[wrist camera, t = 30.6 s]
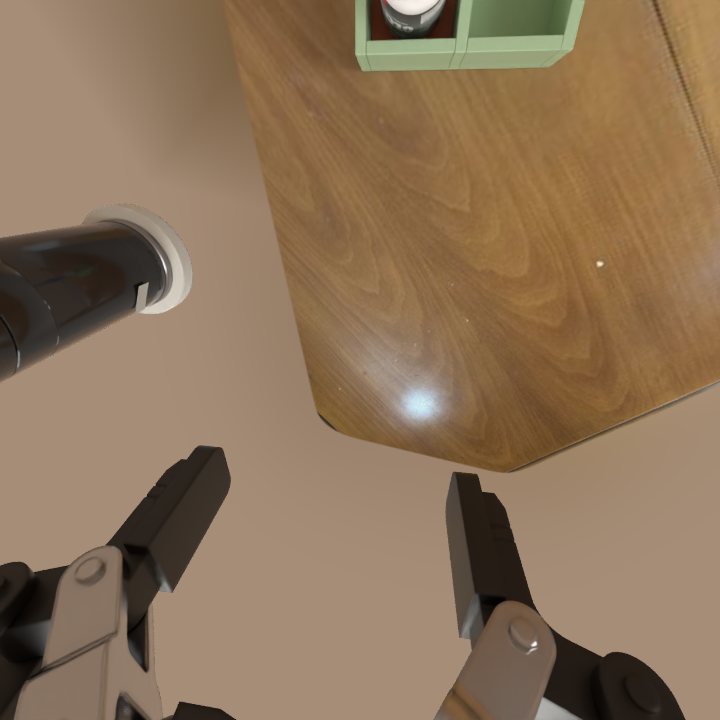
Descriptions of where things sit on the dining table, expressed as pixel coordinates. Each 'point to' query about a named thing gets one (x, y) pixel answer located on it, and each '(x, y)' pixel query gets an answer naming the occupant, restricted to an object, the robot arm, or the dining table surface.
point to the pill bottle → (412, 17)
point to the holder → (472, 36)
